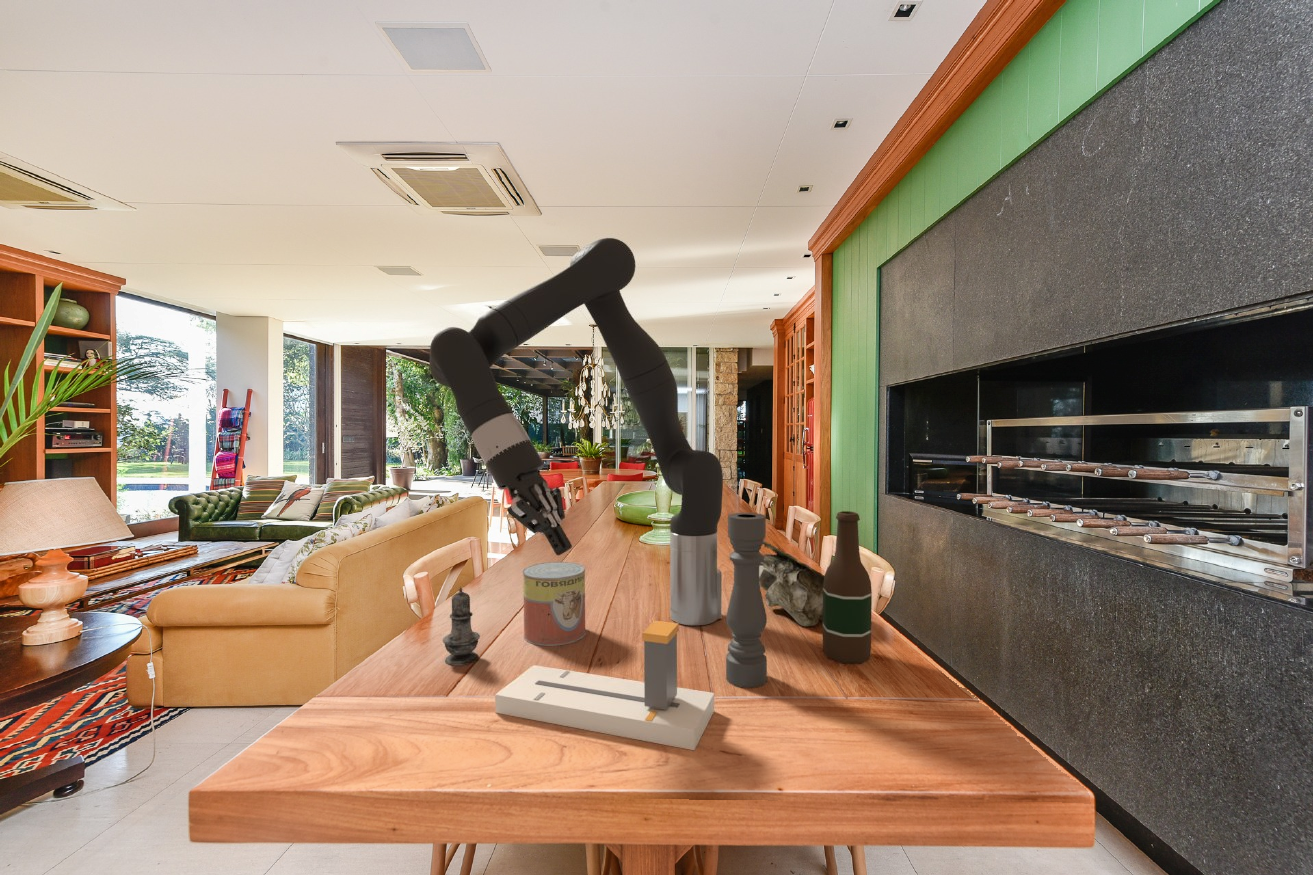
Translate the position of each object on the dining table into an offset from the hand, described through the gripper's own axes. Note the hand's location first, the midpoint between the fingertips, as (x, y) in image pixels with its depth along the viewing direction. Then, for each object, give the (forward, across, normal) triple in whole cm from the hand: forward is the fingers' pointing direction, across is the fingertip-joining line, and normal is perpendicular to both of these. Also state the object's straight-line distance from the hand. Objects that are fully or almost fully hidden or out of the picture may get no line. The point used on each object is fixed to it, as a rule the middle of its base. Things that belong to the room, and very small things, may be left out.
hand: (565, 551), depth 88 cm
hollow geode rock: (+35, +46, -14) cm, 60 cm away
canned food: (+12, +18, +20) cm, 30 cm away
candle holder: (+31, +9, -11) cm, 34 cm away
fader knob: (+23, -6, -5) cm, 24 cm away
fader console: (+21, -6, +4) cm, 23 cm away
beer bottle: (+39, +23, -23) cm, 51 cm away
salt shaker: (+7, +4, +29) cm, 30 cm away
